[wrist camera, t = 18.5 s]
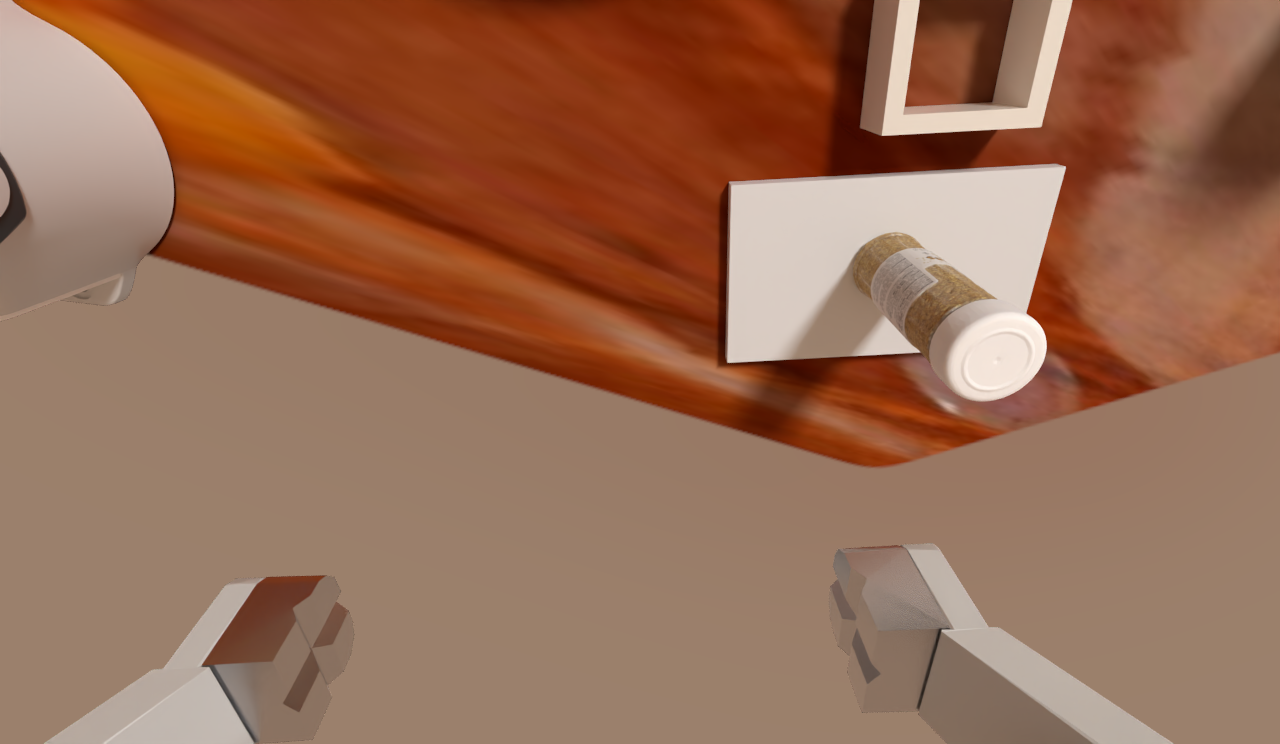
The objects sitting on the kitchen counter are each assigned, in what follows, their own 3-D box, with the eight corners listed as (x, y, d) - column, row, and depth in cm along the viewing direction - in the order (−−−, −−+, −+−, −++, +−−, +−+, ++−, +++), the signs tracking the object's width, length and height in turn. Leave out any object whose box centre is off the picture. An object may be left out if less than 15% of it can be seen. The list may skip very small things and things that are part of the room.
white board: (725, 356, 43) (727, 362, 42) (728, 181, 37) (731, 185, 36) (1008, 340, 43) (1016, 347, 42) (1055, 163, 37) (1066, 166, 36)
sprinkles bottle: (936, 255, 39) (1073, 349, 27) (884, 310, 41) (991, 421, 29) (886, 215, 38) (1006, 294, 26) (834, 273, 39) (924, 373, 27)
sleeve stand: (859, 127, 36) (881, 135, 33) (880, -48, 32) (907, -58, 29) (1005, 119, 36) (1041, 127, 33) (1044, -58, 32) (1089, -68, 29)
